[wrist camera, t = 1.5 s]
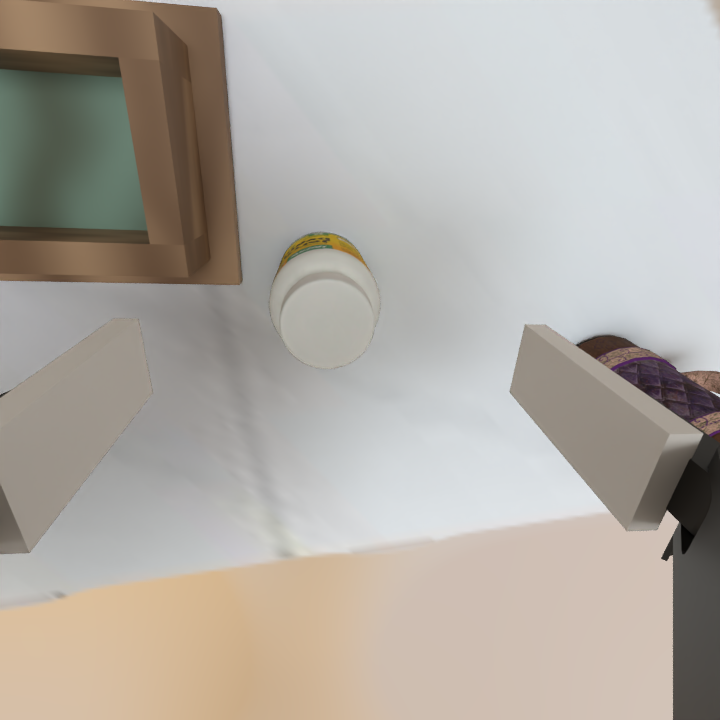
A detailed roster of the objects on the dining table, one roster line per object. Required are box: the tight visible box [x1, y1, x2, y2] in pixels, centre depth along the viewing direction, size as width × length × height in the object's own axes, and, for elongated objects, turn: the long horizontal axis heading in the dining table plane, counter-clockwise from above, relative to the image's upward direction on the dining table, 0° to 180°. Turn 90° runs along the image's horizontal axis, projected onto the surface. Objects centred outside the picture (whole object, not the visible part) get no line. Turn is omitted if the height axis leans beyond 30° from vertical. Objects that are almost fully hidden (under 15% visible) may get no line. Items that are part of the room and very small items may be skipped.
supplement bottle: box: [269, 232, 381, 369], centre depth 21 cm, size 5×5×10 cm
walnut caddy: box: [0, 0, 242, 285], centre depth 19 cm, size 18×13×6 cm
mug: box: [578, 336, 720, 443], centre depth 25 cm, size 10×7×12 cm
